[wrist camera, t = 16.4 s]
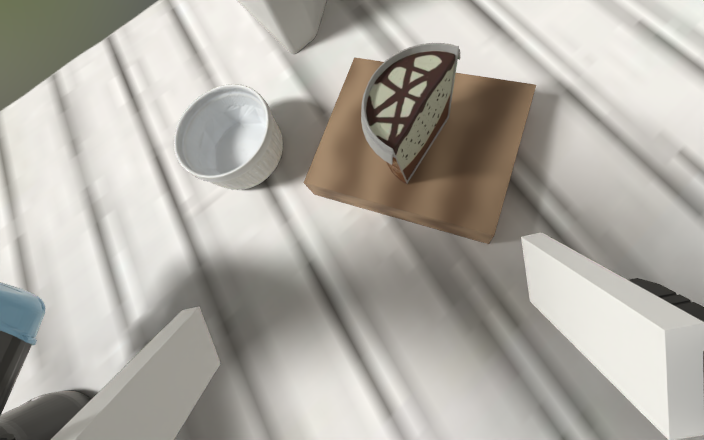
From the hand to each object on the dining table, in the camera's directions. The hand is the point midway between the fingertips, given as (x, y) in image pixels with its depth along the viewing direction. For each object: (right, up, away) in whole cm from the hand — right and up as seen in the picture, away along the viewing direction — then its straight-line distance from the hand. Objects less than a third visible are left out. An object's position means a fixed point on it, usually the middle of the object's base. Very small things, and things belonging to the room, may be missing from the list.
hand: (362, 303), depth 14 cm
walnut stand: (+8, +12, +30) cm, 34 cm away
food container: (+6, +13, +27) cm, 30 cm away
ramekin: (-15, +13, +36) cm, 41 cm away
